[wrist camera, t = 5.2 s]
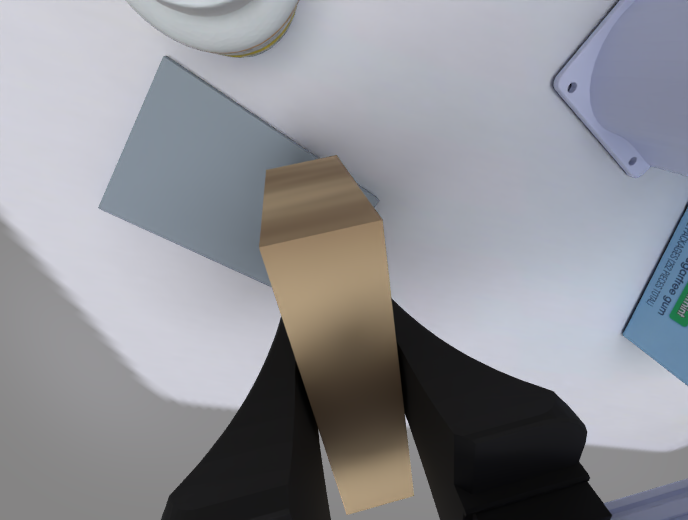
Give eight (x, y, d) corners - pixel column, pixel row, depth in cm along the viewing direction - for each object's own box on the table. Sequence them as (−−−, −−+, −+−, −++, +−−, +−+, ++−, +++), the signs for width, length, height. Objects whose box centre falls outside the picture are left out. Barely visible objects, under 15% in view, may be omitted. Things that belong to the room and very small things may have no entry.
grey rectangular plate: (376, 196, 20) (379, 200, 19) (302, 296, 22) (303, 301, 22) (167, 56, 15) (163, 56, 14) (103, 203, 18) (98, 208, 17)
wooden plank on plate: (373, 370, 18) (414, 496, 12) (325, 382, 17) (346, 515, 12) (336, 155, 12) (382, 220, 7) (266, 169, 12) (259, 247, 7)
